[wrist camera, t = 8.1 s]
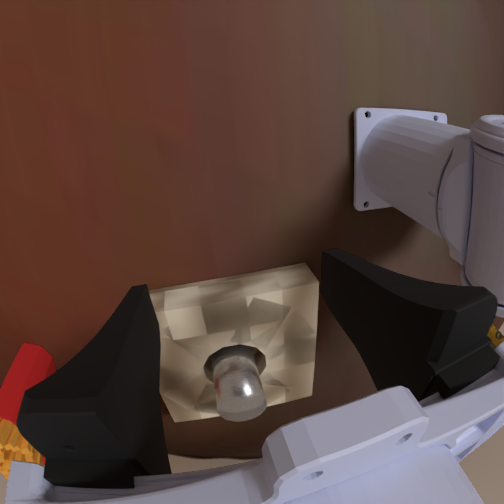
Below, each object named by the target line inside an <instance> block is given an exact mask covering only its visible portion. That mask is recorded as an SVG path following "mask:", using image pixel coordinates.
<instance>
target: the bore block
mask: <svg viewBox="0 0 504 504" xmlns="http://www.w3.org/2000/svg"><path fill="white" fill-rule="evenodd" d="M148 291H149V294H150V297H151V301H152V304H153V307H154V310H155V313H156V316H157V319H158V322H159V328H160V340H161V356H160V387H159V392H160V394H161V396H162V398H163V400H164V402H165V404H166V406H167V408H168V410H169V412H170V414H171V416H172V418H173V420H174V422H182V421H190V420H197V419H204V418H210V417H216V416H220V415H219V413H218V409H217V402H216V395H215V387H214V380H213V372H212V364H211V356H210V355H211V354H213V353H214V352H216V351H218V350H219V349H221V348H222V347H228V346H233V345H238V344H242V345H247V346H251V347H252V351H253V354H254V358H255V362H256V365H257V369H258V373H259V376H260V380H261V383H262V387H263V391H264V394H265V398H266V401H267V406H272V405H276V404H280V403H284V402H289V401H292V400H296V399H300V398H304V397H308V396H311V395H312V388H313V377H314V364H315V351H316V335H317V318H318V297H319V281H318V280H317V279H316V277H315V276H314V274H313V273H312V272H311V270H310V269H309V267H308V266H307V264H306V263H300V264H295V265H289V266H284V267H279V268H273V269H268V270H262V271H257V272H252V273H246V274H240V275H235V276H229V277H224V278H218V279H212V280H207V281H201V282H195V283H189V284H184V285H178V286H172V287H166V288H160V289H154V290H148Z"/></svg>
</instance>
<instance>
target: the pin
mask: <svg viewBox="0 0 504 504" xmlns="http://www.w3.org/2000/svg"><path fill="white" fill-rule="evenodd" d="M210 356H211V364H212V372H213V380H214V387H215V395H216V402H217V409H218V413H219V415H220V416H221V417H222V418H224V419H226V420H230V421H246V420H250V419H253V418H255V417H257V416H259V415H260V414H262V413H263V412H264V411H265V409H266V407H267V401H266V398H265V394H264V391H263V387H262V383H261V380H260V376H259V373H258V369H257V365H256V362H255V358H254V354H253V351H252V347H251V346H247V345H242V344H238V345H233V346H228V347H222V348H221V349H219V350H218V351H216V352H214V353H213V354H211V355H210Z"/></svg>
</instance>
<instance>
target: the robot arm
mask: <svg viewBox="0 0 504 504" xmlns="http://www.w3.org/2000/svg"><path fill="white" fill-rule="evenodd" d="M366 111H367V112H368V116H367V117H365V113H366ZM434 116H435V120H434ZM366 201H367V204H366V205H365V206H364V203H365V202H366ZM353 205H354V208H355V209H356V210H358V211H365V210H372V209H379V208H386V207H394V208H396V209H398V210H399V211H401V212H402V213H404V214H405V215H407V216H409V217H410V218H412V219H413V220H415V221H416V222H418V223H419V224H421V225H422V226H424V227H425V228H427V229H428V230H430V231H431V232H433V233H434V234H436V235H437V236H439V237H440V238H442V239H443V240H444V241H446V242H447V243H448V245H449V248H450V257H452V258H453V259H454V260H455V261H457V262H458V263H459V264H461V265H462V269H461V283H462V286H457V285H447V284H440V283H434V282H429V281H424V280H420V279H416V278H412V277H409V276H405V275H402V274H399V273H396V272H393V271H390V270H388V269H385V268H382V267H380V266H377V265H375V264H372V263H370V262H368V261H365V260H363V259H361V258H359V257H356V256H354V255H352V254H349V253H347V252H344V251H342V250H339V249H336V248H334V249H329V250H324V251H322V265H321V293H322V295H323V297H324V300H325V302H326V304H327V305H328V307H329V309H330V311H331V312H332V314H333V315H334V317H335V318H336V320H337V321H338V322H339V324H340V325H341V327H342V328H343V330H344V331H345V332H346V334H347V335H348V337H349V338H350V340H351V341H352V342H353V344H354V345H355V347H356V348H357V350H358V352H359V353H360V355H361V357H362V359H363V361H364V363H365V365H366V367H367V369H368V371H369V373H370V375H371V377H372V379H373V381H374V384H375V386H376V388H377V390H378V391H377V392H375V393H372V394H370V395H367V396H365V397H362V398H359V399H357V400H354V401H351V402H348V403H346V404H343V405H340V406H337V407H334V408H331V409H328V410H325V411H322V412H319V413H315V414H312V415H309V416H305V417H302V418H299V419H297V420H295V421H292V422H290V423H287V424H285V425H282V426H281V427H279V428H278V429H277V430H275V431H274V432H273V433H271V434H270V435H269V436H268V437H267V438H266V440H265V442H264V445H263V447H262V455H263V458H262V459H258V460H254V461H249V462H245V463H240V464H235V465H230V466H224V467H219V468H212V469H206V470H199V471H192V472H184V473H175V474H172V473H171V469H170V464H169V459H168V454H167V448H166V443H165V437H164V430H163V423H162V416H161V407H160V393H159V387H160V356H161V340H160V328H159V322H158V319H157V316H156V313H155V310H154V307H153V304H152V301H151V297H150V294H149V291H148V288H147V284H144V285H139V286H133V287H131V289H130V290H129V291H128V293H127V294H126V296H125V297H124V299H123V300H122V302H121V303H120V304H119V306H118V307H117V309H116V310H115V312H114V313H113V314H112V316H111V317H110V318H109V320H108V321H107V322H106V323H105V325H104V326H103V327H102V328H101V330H100V331H99V332H98V333H97V335H96V336H95V337H94V338H93V339H92V340H91V341H90V342H89V343H88V344H87V345H86V346H85V347H84V348H83V349H82V350H81V351H80V352H79V353H78V354H77V355H76V356H75V357H73V358H72V359H71V360H70V361H69V362H68V363H67V364H65V365H64V366H63V367H61V368H60V369H59V370H57V371H56V372H55V373H53V374H52V375H50V376H49V377H47V378H46V379H44V380H43V381H41V382H39V383H38V384H36V385H34V386H33V387H31V388H29V389H27V390H25V392H24V395H23V399H22V402H21V405H20V409H19V413H18V416H17V420H16V426H17V428H18V430H19V432H20V434H21V435H22V436H23V437H24V438H25V440H26V441H28V442H29V443H30V444H31V445H32V446H33V447H34V448H35V449H36V450H37V451H38V452H39V453H40V454H41V455H43V456H44V457H45V458H46V460H45V467H44V466H43V465H40V464H38V463H33V462H24V461H17V460H12V461H11V466H10V471H9V477H8V484H7V492H6V500H5V504H484V503H483V501H482V500H481V498H480V497H479V495H478V493H477V492H476V490H475V489H474V487H473V485H472V484H471V482H470V481H469V479H468V478H467V476H466V474H465V473H464V471H463V470H462V468H461V467H460V465H459V464H458V462H459V461H461V460H462V459H463V458H465V457H466V456H467V455H468V454H470V453H471V452H472V451H473V450H475V449H476V448H477V447H478V446H480V445H481V444H482V443H483V442H485V441H486V440H487V439H488V438H489V437H491V435H493V434H494V433H495V432H496V431H497V430H499V429H500V428H501V427H502V426H503V425H504V341H503V342H502V343H500V344H499V345H498V346H497V347H496V348H495V349H494V350H493V349H492V348H491V347H490V346H489V345H491V343H492V340H491V339H490V338H489V337H488V336H487V334H488V332H489V330H490V327H491V325H492V323H493V320H494V318H495V315H496V316H499V317H502V318H504V115H485V116H482V117H480V118H479V119H478V120H477V121H476V122H475V123H473V124H472V125H471V127H470V130H469V129H465V128H461V127H457V126H453V125H449V124H447V116H446V115H445V114H444V113H438V112H428V111H417V110H404V109H387V108H357V109H355V111H354V203H353Z"/></svg>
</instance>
